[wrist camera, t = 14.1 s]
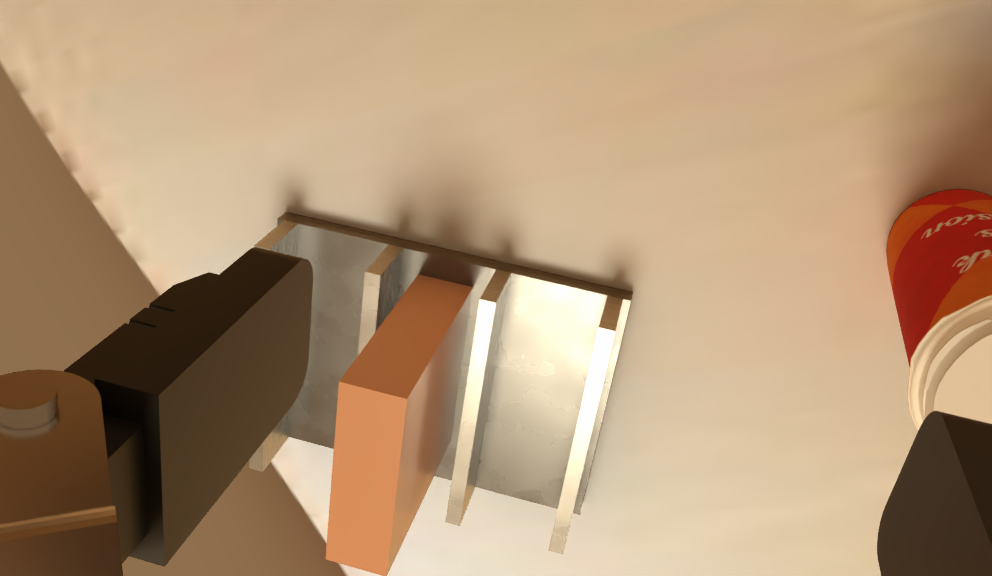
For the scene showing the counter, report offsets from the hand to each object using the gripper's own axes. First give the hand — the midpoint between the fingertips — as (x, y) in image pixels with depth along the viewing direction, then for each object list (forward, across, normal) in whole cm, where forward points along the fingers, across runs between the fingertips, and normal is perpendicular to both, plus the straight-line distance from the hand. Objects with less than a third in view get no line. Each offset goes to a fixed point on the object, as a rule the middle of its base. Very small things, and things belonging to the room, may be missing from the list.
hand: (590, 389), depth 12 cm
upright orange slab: (+31, +9, +20) cm, 38 cm away
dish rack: (+32, +9, +21) cm, 39 cm away
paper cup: (+32, -14, +8) cm, 36 cm away
